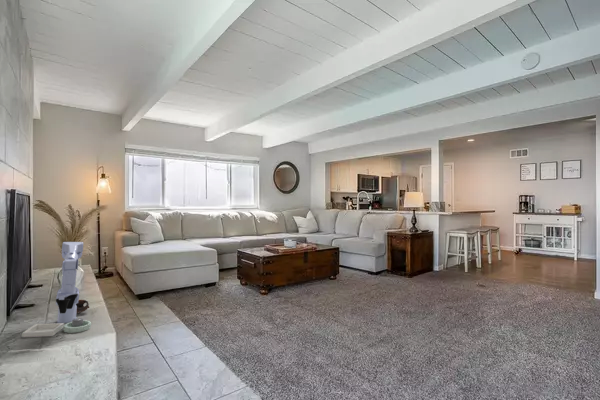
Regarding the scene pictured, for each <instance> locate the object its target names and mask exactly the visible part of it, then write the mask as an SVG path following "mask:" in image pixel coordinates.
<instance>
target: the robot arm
mask: <svg viewBox="0 0 600 400" xmlns="http://www.w3.org/2000/svg"><path fill="white" fill-rule="evenodd" d="M83 252H84V242H83V241H63V242H62V246H61V257H62V259H63V261H62V265H61V270H62V271H61V272H62V274H61V275H62V276H61V288H59V289H58V290H57V292H56V297H55V306H58V309H57V320H56V323H64V324H67V323H70V322H72V320H73V319H76V318H77V314H78V313H77V306H76V304H77V303H78V301H79V300H80V289H79V288H78V287H76V282H77V272H78V270H79V269H78V268H79V262H80V261H79V259H81V258H82V256H83ZM76 313H77V314H76Z"/></svg>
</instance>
